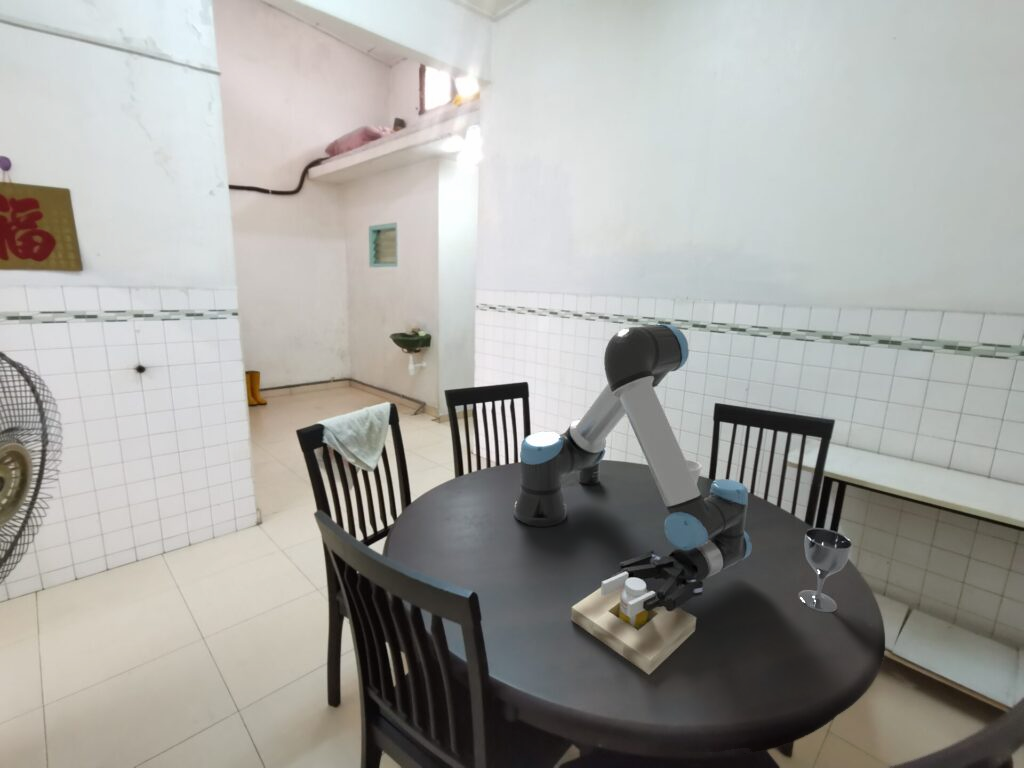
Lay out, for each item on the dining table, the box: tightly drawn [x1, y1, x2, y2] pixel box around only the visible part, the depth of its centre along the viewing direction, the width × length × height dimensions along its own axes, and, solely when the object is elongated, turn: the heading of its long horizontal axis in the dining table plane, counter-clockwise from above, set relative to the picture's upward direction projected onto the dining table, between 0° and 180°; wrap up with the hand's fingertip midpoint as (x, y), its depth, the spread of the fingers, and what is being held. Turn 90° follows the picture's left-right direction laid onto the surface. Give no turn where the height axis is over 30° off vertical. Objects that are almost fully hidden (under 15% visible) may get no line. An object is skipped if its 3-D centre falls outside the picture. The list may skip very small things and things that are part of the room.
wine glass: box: [797, 527, 852, 613], centre depth 100 cm, size 8×8×15 cm
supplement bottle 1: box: [578, 461, 601, 486], centre depth 159 cm, size 7×7×12 cm
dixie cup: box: [685, 458, 703, 485], centre depth 151 cm, size 8×8×10 cm
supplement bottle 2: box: [618, 577, 648, 630], centre depth 94 cm, size 5×5×10 cm
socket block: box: [570, 587, 697, 675], centre depth 94 cm, size 18×16×3 cm
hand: (615, 599), depth 90 cm, fingers open, 6 cm apart
